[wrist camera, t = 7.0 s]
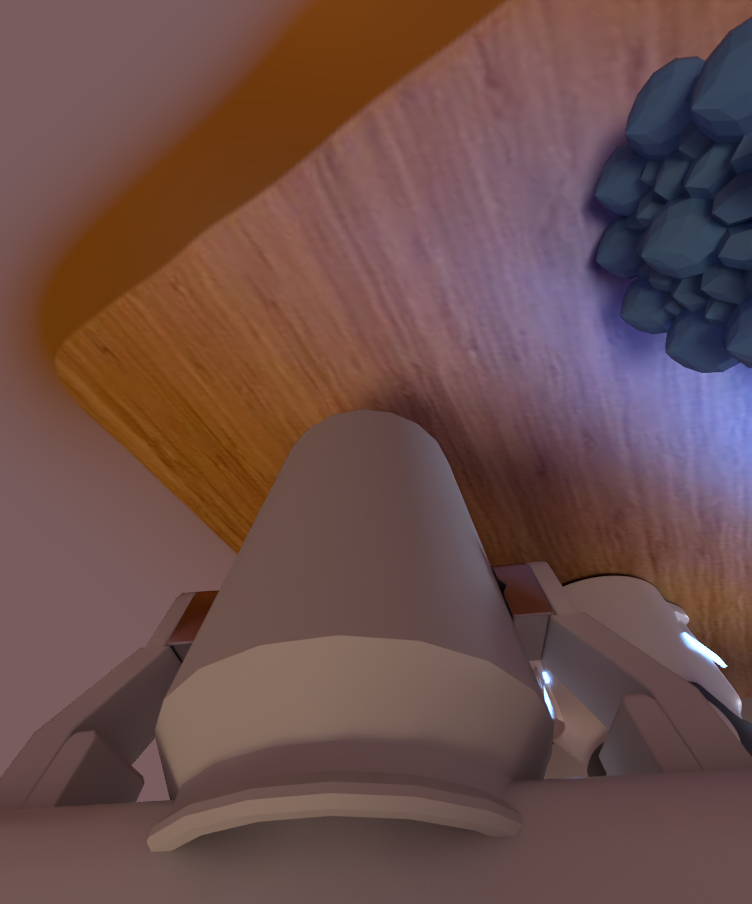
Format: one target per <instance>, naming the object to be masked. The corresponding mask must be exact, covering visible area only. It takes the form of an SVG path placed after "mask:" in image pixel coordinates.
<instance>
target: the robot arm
mask: <svg viewBox="0 0 752 904" xmlns="http://www.w3.org/2000/svg"><path fill="white" fill-rule="evenodd" d="M491 569H492V571H493V574H494V576H495V578H496V581H497V583H498V586H499V588H500V591H501V593H502V596H503V598H504V601H505V603H506V605H507V608H508V610H509V613H510V615H511V618H512V620H513V623H514V625H515V628H516V630H517V632H518V635H519V637H520V640H521V642H522V645H523V647H524V650H525V652H526V655H527V657H528V659H529V662H530V664H531V667H532V669H533V672H534V674H535V677H536V679H537V682H538V684H539V686H540V689H541V691H542V694H543V696H544V699H545V701H546V704H547V706H548V709H549V711H550V714H551V716H552V718H553V721H554V732H553V742H554V743H556V744H557V745H558V746H560V747H561V748H563V749H564V750H565V751H567V752H568V753H569V754H571V755H572V756H573V757H574V758H576V759H577V760H578V761H580V762H581V763H582V764H583V765H584V766H586V767H587V773H588V776H589V777H578V778H561V779H542V780H524V781H511V782H508V783H507V784H506V786H505V788H504V800H505V801H506V802H507V803H508V804H509V805H511V806H512V807H513V808H514V809H515V810H517V811H518V812H519V813H520V814H521V816H522V821H523V826H522V827H521V828H520V829H519V831H518V832H517V833H516V834H515V836H508V837H490V836H488V835H485V834H482V833H480V832H477V831H474V830H469V829H463V828H457V827H451V826H446V825H440V824H434V823H428V822H423V821H417V820H411V819H395V818H371V817H347V816H324V817H312V818H300V819H287V820H275V821H262V822H255V823H251V824H247V825H243V826H238V827H234V828H230V829H226V830H221V831H217V832H213V833H209V834H204V835H201V836H199V837H197V838H195V839H193V840H191V841H189V842H187V843H186V844H184V845H182V846H180V847H178V848H176V849H174V850H172V851H161V852H151V851H150V848H149V846H148V844H147V840H148V837H149V835H150V832H151V830H152V827H153V826H154V825H156V824H157V823H158V822H159V821H161V820H162V819H163V818H165V817H166V816H167V815H169V814H170V812H171V809H172V807H173V804H174V802H175V800H167V801H149V802H136V801H137V799H138V796H139V794H140V792H141V789H142V787H143V785H144V779H143V776H142V775H141V774H140V773H139V772H138V771H137V770H136V769H134V768H133V767H132V766H131V765H132V764H133V763H134V762H135V761H136V759H137V758H138V757H139V756H140V755H141V753H142V752H143V751H144V750H145V749H146V748H147V746H148V745H149V744H150V743H151V742H152V741H153V739H154V738H155V733H154V731H155V728H156V724H157V721H158V717H159V714H160V711H161V707H162V704H163V701H164V698H165V696H166V694H167V692H168V690H169V688H170V686H171V684H172V683H173V681H174V679H175V677H176V675H177V673H178V671H179V669H180V667H181V665H182V663H183V661H184V659H185V657H186V655H187V653H188V651H189V649H190V647H191V645H192V643H193V641H194V639H195V637H196V635H197V633H198V631H199V630H200V628H201V626H202V624H203V622H204V620H205V618H206V616H207V614H208V612H209V610H210V608H211V606H212V604H213V602H214V600H215V598H216V596H217V594H218V592H219V591H203V592H190V593H182V594H181V595H179V596H178V597H177V598H176V600H175V601H174V603H173V604H172V606H171V608H170V609H169V611H168V612H167V614H166V616H165V617H164V619H163V620H162V622H161V623H160V625H159V627H158V628H157V630H156V631H155V633H154V635H153V636H152V638H151V639H150V641H149V642H148V644H147V646H146V647H145V648H139V649H138V650H137V651H136V652H134V653H133V654H132V655H131V656H130V657H128V658H127V659H126V660H124V661H123V662H122V663H121V664H119V665H118V666H117V667H116V668H115V669H114V670H112V671H111V672H109V673H108V674H107V675H106V676H104V677H103V678H102V679H101V680H100V681H98V682H97V683H96V684H95V685H93V686H92V687H91V688H89V689H88V690H87V691H86V692H85V693H83V694H82V695H81V696H80V697H78V698H77V699H76V700H75V701H73V702H72V703H71V704H69V705H68V706H67V707H66V708H64V709H63V710H62V711H61V712H60V713H58V714H57V715H56V716H55V717H54V718H52V719H51V720H50V721H48V722H47V723H46V724H45V725H43V726H42V727H41V728H40V729H38V730H37V731H36V732H35V733H34V734H33V735H32V737H31V738H30V739H29V741H28V742H27V743H26V745H25V746H24V747H23V749H22V750H21V751H20V753H19V754H18V755H17V757H16V758H15V759H14V760H13V762H12V763H11V764H10V766H9V767H8V768H7V770H6V771H5V772H4V774H3V775H2V776H1V778H0V904H752V723H750V722H748V721H746V720H743V719H742V717H741V709H742V707H741V706H742V702H741V699H740V697H739V696H738V694H737V693H736V691H735V690H734V689H733V687H732V686H731V685H730V683H729V682H728V681H727V679H726V678H725V677H724V675H723V674H722V673H721V671H720V670H719V669H718V667H717V666H716V665H715V663H714V662H713V661H715V662H716V663H718V664H719V665H721V666H722V667H723V668H724V667H727V666H726V664H725V663H724V662H723V661H722V660H721V659H720V658H719V657H718V656H717V655H716V654H715V653H713V652H712V651H711V650H709V649H708V648H706V647H705V646H704V645H702V644H701V643H699V642H698V641H697V640H696V638H695V637H694V636H693V634H692V633H691V632H690V630H689V629H688V628H687V627H686V625H687V624H688V622H689V617H688V616H687V615H686V613H685V612H684V611H683V609H682V608H680V607H679V606H677V605H674V604H672V603H669V602H667V601H665V600H664V598H663V597H662V595H661V594H660V592H659V591H658V590H657V589H656V588H655V587H654V586H653V585H651V584H650V583H648V582H646V581H644V580H641V579H638V578H633V577H628V576H601V577H594V578H589V579H585V580H581V581H577V582H574V583H571V584H568V585H566V586H563V587H562V585H561V583H560V582H559V580H558V579H557V577H556V575H555V574H554V572H553V571H552V569H551V568H550V566H549V564H548V563H546V562H545V561H540V562H529V563H517V564H507V565H497V566H491ZM712 660H713V661H712Z"/></svg>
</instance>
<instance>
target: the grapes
mask: <svg viewBox="0 0 752 904" xmlns="http://www.w3.org/2000/svg"><path fill="white" fill-rule="evenodd" d="M625 136H626V138H627V142H626V143H624V144H622V145H620V146H618V147H617V148H616V150H615V151H614V152H613V154H612V155H611V156H610V157H609V159H608V160H607V161H606V163H605V165H604V167H603V170H602V172H601V175H600V177H599V180H598V184H597V189H596V194H595V197H596V198H597V199H598V200H599V201H600V203H601V204H602V205H603V206H604V207H605V208H606V209H608V210H609V211H611V212H612V213H614V214H615V215H620V217H618V218H616V219H615V220H614V221H613V222H612V224H611V225H610V226H609V227H608V228H607V229H606V230H605V233H604V235H603V237H602V239H601V242H600V244H599V249H598V253H597V259H596V262H597V263H598V264H599V265H600V266H601V267H602V268H604V269H605V270H607V271H608V272H610V273H611V274H613V275H614V276H617V277H622V278H626V279H631V278H635V277H638V278H637V279H636V280H635V281H634V282H632V283H631V284H630V286H629V288H628V290H627V292H626V294H625V296H624V298H623V303H622V308H621V318H623V319H624V320H625V321H626V322H627V323H628V324H630V325H631V326H633V327H634V328H636V329H637V330H640V331H643V332H647V333H650V334H658V333H666V332H667V338H666V343H665V347H666V353H667V354H668V355H669V356H670V357H671V358H672V359H673V360H675V361H676V362H678V363H679V364H681V365H682V366H684V367H686V368H689V369H692V370H695V371H698V372H701V373H710V372H723V371H725V370H727V369H729V368H731V367H733V366H735V365H737V364H738V363H740V362H741V363H742V364H744V365H745V366H747V367H749V368H752V17H751V18H749V19H748V20H746V21H745V22H743V23H742V24H740V25H739V26H737V27H736V28H734V29H732V30H731V31H729V33H728V34H727V35H726V36H725V37H724V39H723V40H722V41H721V42H720V44H719V45H718V46H717V47H716V48H715V50H714V51H713V52H712V53H711V55H710V56H709V57H708V58H707V59H706V61H704V60H702V59H701V58H699V57H686V58H675V59H674V60H672V61H671V62H669V63H668V64H666V65H665V66H663V67H662V68H660V69H659V70H657V71H656V72H654V73H653V74H652V76H651V77H650V78H649V80H648V81H647V82H646V84H645V85H644V86H643V88H642V89H641V90H640V92H639V93H638V94H637V97H636V99H635V101H634V104H633V106H632V109H631V111H630V114H629V116H628V121H627V126H626V131H625Z"/></svg>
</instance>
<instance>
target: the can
mask: <svg viewBox="0 0 752 904" xmlns="http://www.w3.org/2000/svg"><path fill="white" fill-rule="evenodd" d="M553 732H554V721H553V718H552V716H551V714H550V711H549V709H548V706H547V704H546V701H545V699H544V696H543V694H542V691H541V689H540V686H539V684H538V682H537V679H536V677H535V674H534V672H533V669H532V667H531V664H530V662H529V659H528V657H527V655H526V652H525V650H524V647H523V645H522V642H521V640H520V637H519V635H518V632H517V630H516V628H515V625H514V623H513V620H512V618H511V615H510V613H509V610H508V608H507V605H506V603H505V601H504V598H503V596H502V593H501V591H500V588H499V586H498V583H497V581H496V578H495V576H494V574H493V571H492V569H491V566H490V564H489V561H488V559H487V556H486V554H485V551H484V549H483V546H482V544H481V542H480V539H479V537H478V534H477V532H476V529H475V527H474V524H473V522H472V519H471V517H470V515H469V512H468V510H467V507H466V505H465V502H464V500H463V497H462V495H461V492H460V490H459V488H458V485H457V483H456V480H455V478H454V475H453V473H452V470H451V468H450V465H449V463H448V461H447V459H446V457H445V455H444V454H443V452H442V450H441V448H440V446H439V444H438V442H437V441H436V440H435V439H434V438H433V437H432V436H430V435H429V434H428V433H427V432H426V431H425V430H424V429H423V428H422V427H420V426H419V425H418V424H417V423H414V422H412V421H410V420H408V419H405V418H403V417H401V416H398V415H396V414H394V413H391V412H382V411H373V410H364V409H361V410H356V411H351V412H346V413H340V414H335V415H332V416H331V417H329V418H327V419H325V420H323V421H321V422H320V423H318V424H316V425H314V426H312V427H311V428H309V429H308V430H307V431H306V432H305V434H304V435H303V436H302V437H301V438H300V439H299V440H298V441H297V443H296V444H295V445H294V446H293V447H292V449H291V451H290V453H289V455H288V457H287V459H286V461H285V463H284V465H283V467H282V469H281V470H280V472H279V474H278V476H277V478H276V480H275V482H274V484H273V486H272V488H271V490H270V492H269V494H268V496H267V498H266V500H265V502H264V504H263V506H262V508H261V510H260V512H259V514H258V516H257V518H256V520H255V522H254V523H253V525H252V527H251V529H250V531H249V533H248V535H247V537H246V539H245V541H244V543H243V545H242V547H241V549H240V551H239V553H238V555H237V557H236V559H235V561H234V563H233V565H232V567H231V569H230V571H229V573H228V575H227V577H226V578H225V580H224V582H223V585H222V586H221V589H220V590H219V592H218V594H217V596H216V598H215V600H214V602H213V604H212V606H211V608H210V610H209V612H208V614H207V616H206V618H205V620H204V622H203V624H202V626H201V628H200V630H199V631H198V633H197V635H196V637H195V639H194V641H193V643H192V645H191V647H190V649H189V651H188V653H187V655H186V657H185V659H184V661H183V663H182V665H181V667H180V669H179V671H178V673H177V675H176V677H175V679H174V681H173V683H172V684H171V686H170V688H169V690H168V692H167V694H166V696H165V698H164V701H163V704H162V707H161V711H160V714H159V717H158V721H157V724H156V728H155V731H154V733H155V738H156V742H157V746H158V750H159V754H160V759H161V763H162V767H163V771H164V776H165V780H166V784H167V789H168V793H169V797H170V800H175V802H174V804H173V807H172V809H171V812H170V814H169V815H167V816H166V817H165V818H163V819H162V820H161V821H159V822H158V823H157V824H156V825H154V826H153V827H152V830H151V832H150V835H149V837H148V840H147V844H148V846H149V848H150V851H151V852H161V851H172V850H174V849H176V848H178V847H180V846H182V845H184V844H186V843H187V842H189V841H191V840H193V839H195V838H197V837H199V836H201V835H204V834H209V833H213V832H217V831H221V830H226V829H230V828H234V827H238V826H243V825H247V824H251V823H255V822H262V821H275V820H287V819H300V818H312V817H324V816H347V817H371V818H395V819H411V820H417V821H423V822H428V823H434V824H440V825H446V826H451V827H457V828H463V829H469V830H474V831H477V832H480V833H482V834H485V835H488V836H490V837H508V836H515V834H516V833H517V832H518V831H519V829H520V828H521V827H522V826H523V821H522V816H521V814H520V813H519V812H518V811H517V810H515V809H514V808H513V807H512V806H511V805H509V804H508V803H507V802H506V801H505V800H504V788H505V786H506V784H507V783H508V782H511V781H524V780H542V779H544V776H545V773H546V770H547V766H548V763H549V760H550V757H551V753H552V743H553Z"/></svg>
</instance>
